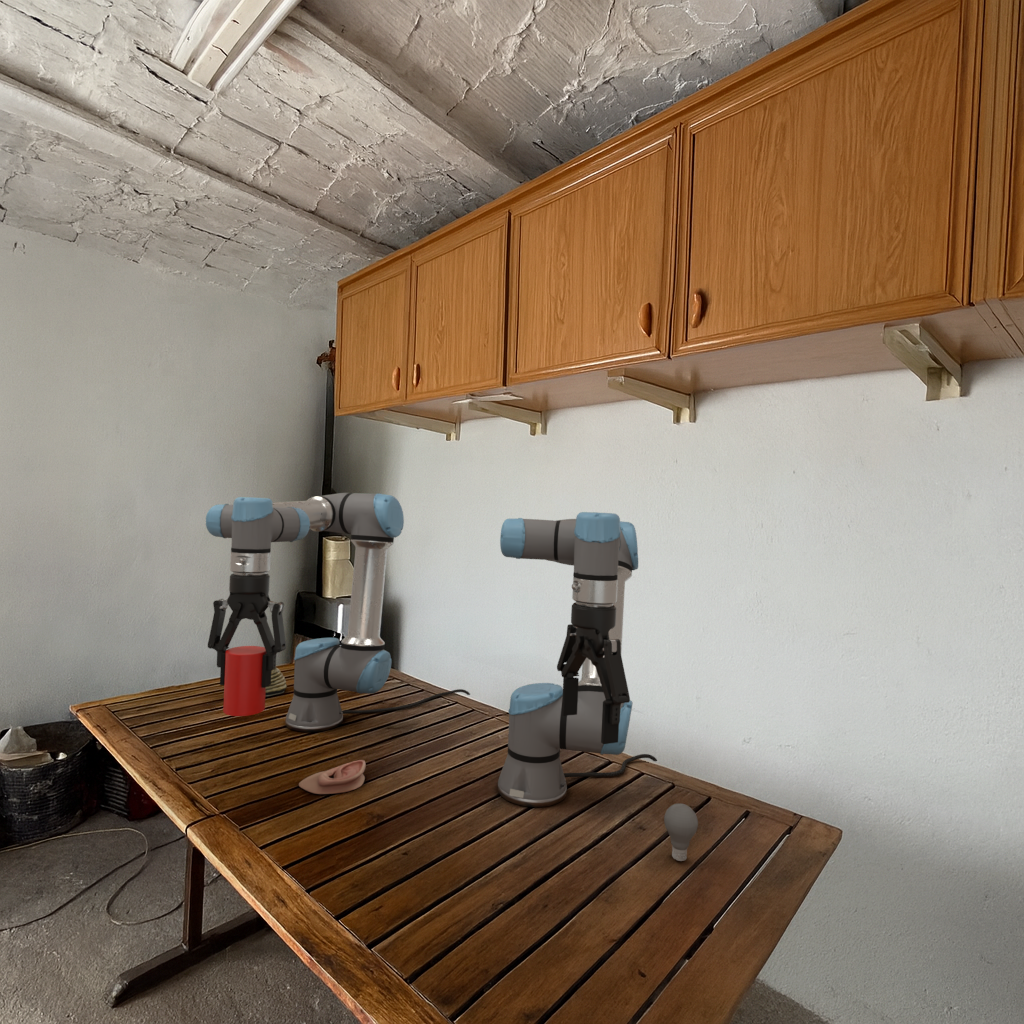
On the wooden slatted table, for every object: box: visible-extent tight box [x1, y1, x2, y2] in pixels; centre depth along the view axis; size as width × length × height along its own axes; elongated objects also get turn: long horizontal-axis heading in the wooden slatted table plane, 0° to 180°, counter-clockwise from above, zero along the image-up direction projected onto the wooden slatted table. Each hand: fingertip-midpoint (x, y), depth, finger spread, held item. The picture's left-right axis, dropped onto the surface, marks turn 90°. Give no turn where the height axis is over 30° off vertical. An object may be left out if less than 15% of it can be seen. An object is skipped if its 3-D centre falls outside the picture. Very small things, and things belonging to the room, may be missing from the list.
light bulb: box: [663, 802, 699, 862], centre depth 116 cm, size 6×6×10 cm
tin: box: [222, 645, 267, 717], centre depth 129 cm, size 8×8×12 cm
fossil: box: [265, 666, 288, 697], centre depth 198 cm, size 9×18×15 cm, turn 132°
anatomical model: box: [298, 759, 367, 795], centre depth 140 cm, size 13×4×12 cm
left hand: (245, 684), depth 129 cm, fingers closed on tin, 8 cm apart
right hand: (588, 727), depth 108 cm, fingers open, 13 cm apart
